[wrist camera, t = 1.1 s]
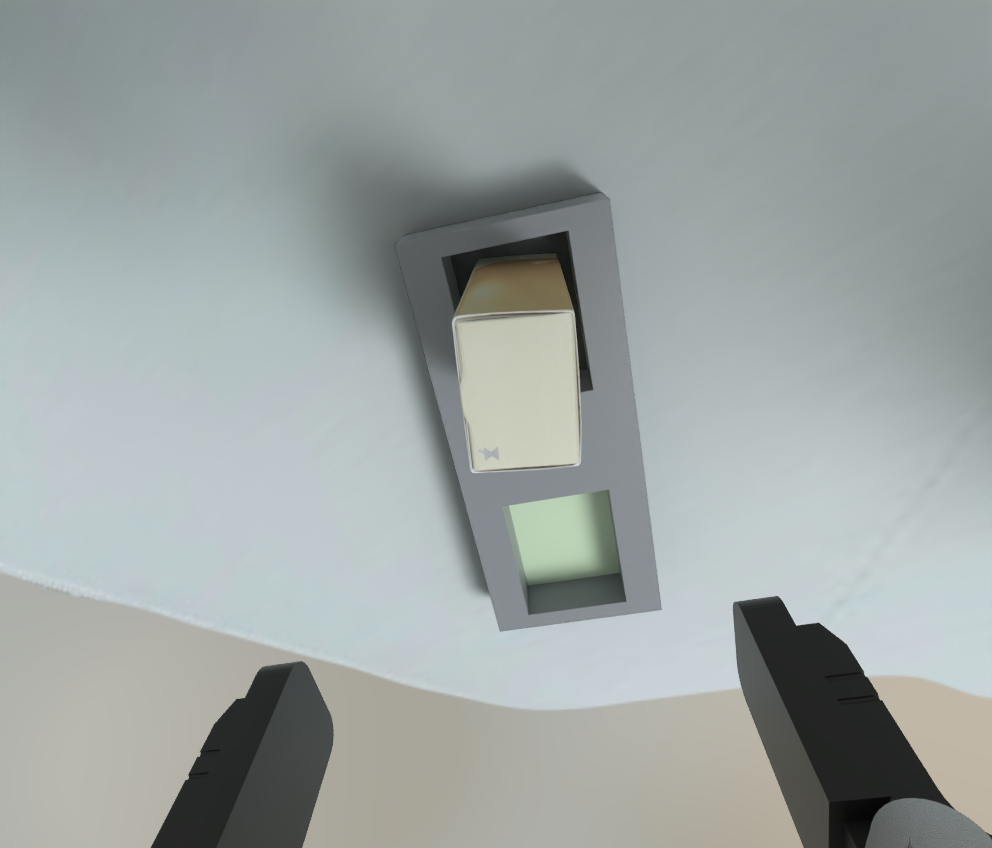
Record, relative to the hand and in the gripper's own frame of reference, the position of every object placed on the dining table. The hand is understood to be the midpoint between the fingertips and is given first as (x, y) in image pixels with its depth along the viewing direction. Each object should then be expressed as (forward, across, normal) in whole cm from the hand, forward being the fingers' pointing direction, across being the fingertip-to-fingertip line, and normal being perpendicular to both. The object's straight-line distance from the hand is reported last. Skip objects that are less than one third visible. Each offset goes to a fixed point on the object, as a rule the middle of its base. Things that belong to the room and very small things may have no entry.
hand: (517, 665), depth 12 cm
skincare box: (+24, 0, 0) cm, 24 cm away
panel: (+24, 0, +7) cm, 25 cm away
